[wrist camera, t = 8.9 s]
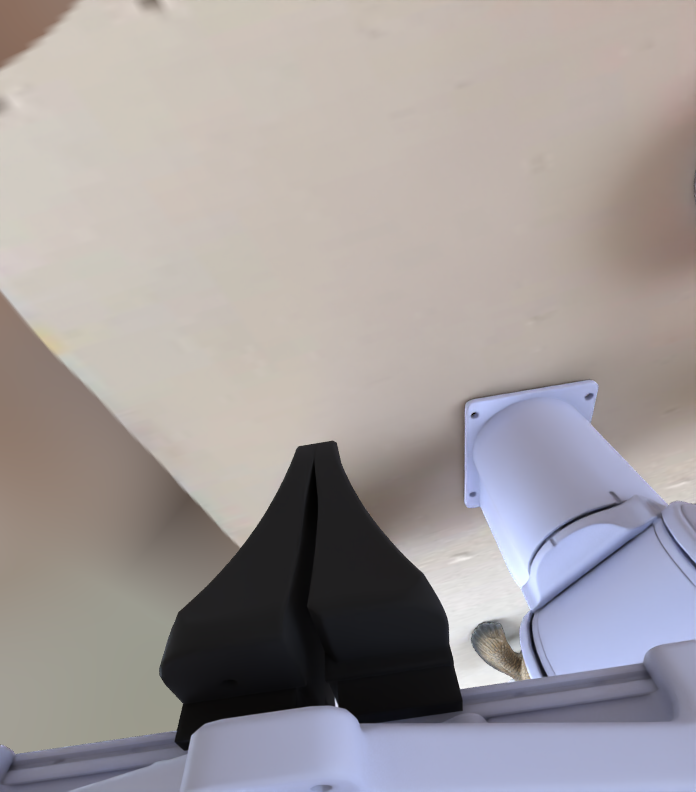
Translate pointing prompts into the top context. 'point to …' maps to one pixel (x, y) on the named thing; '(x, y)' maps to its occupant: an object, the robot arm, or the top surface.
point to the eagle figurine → (499, 651)
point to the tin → (695, 187)
